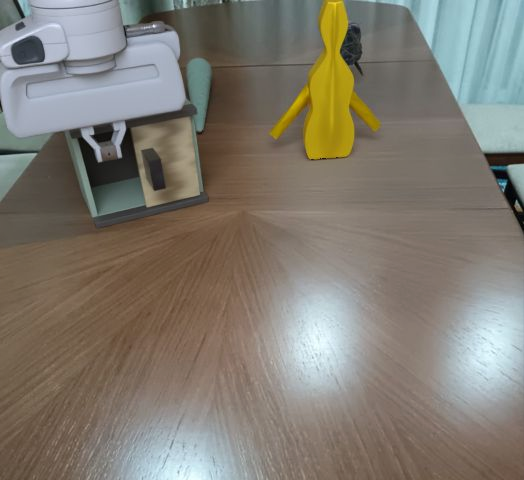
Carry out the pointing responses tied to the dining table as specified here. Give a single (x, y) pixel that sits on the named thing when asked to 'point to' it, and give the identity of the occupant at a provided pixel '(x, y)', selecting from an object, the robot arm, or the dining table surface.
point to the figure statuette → (328, 94)
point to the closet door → (166, 160)
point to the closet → (122, 173)
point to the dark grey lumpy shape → (352, 46)
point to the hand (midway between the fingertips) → (109, 158)
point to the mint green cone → (199, 88)
